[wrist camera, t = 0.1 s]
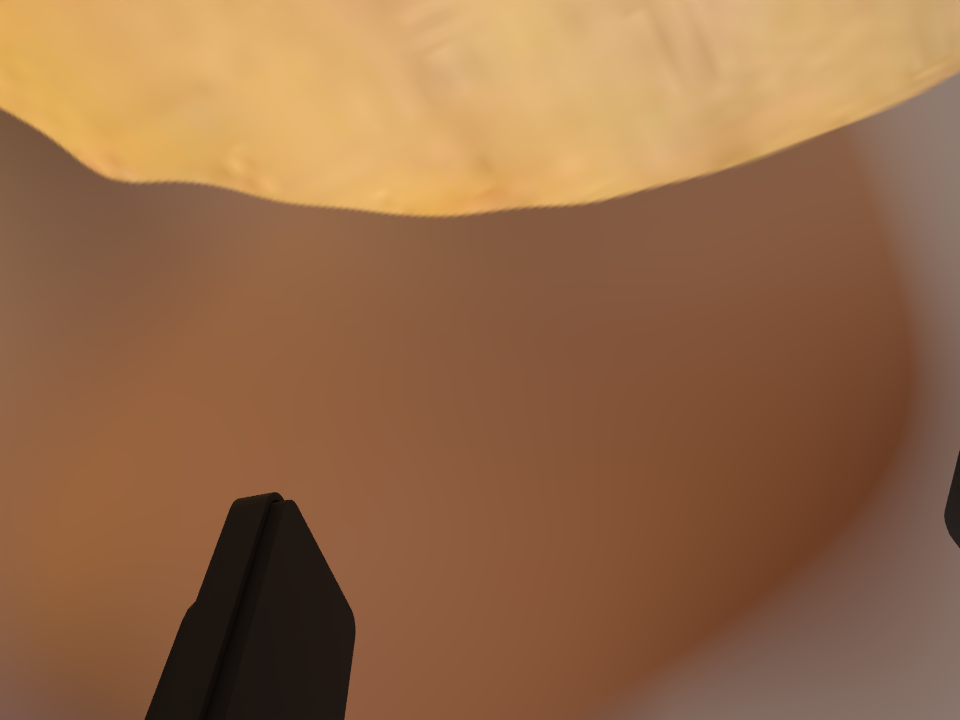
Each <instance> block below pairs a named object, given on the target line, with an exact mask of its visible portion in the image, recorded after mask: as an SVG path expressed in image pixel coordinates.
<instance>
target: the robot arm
mask: <svg viewBox="0 0 960 720" xmlns="http://www.w3.org/2000/svg"><path fill="white" fill-rule="evenodd" d="M944 517H945V523H946V526H947V529H948V531H949V534H950V536H951V537H952V539H953V540H954V541H955V543H956V544H957V545H958V547H959V548H960V451H959V455H958V459H957V463H956V468H955V472H954V475H953V480H952V484H951V488H950V492H949V496H948V500H947V504H946V508H945V514H944ZM354 642H355V620H354V616H353V612H352V610H351V608H350V606H349V604H348V602H347V600H346V599H345V596H344V595H343V593H342V591H341V589H340V587H339V585H338V583H337V581H336V579H335V577H334V575H333V573H332V572H331V570H330V568H329V566H328V564H327V562H326V560H325V558H324V556H323V555H322V552H321V551H320V549H319V547H318V545H317V543H316V541H315V539H314V537H313V535H312V533H311V531H310V529H309V528H308V526H307V524H306V522H305V520H304V518H303V516H302V514H301V512H300V510H299V508H298V506H297V505H296V503H295V502H294V501H293V500H285V501H284V499H283V498H282V496H281V495H280V494H279V493H277V492H273V493H267V494H262V495H256V496H251V497H246V498H240V499H237V500H235V501H234V502H233V504H232V506H231V508H230V510H229V513H228V515H227V518H226V521H225V524H224V527H223V529H222V532H221V534H220V537H219V540H218V542H217V545H216V548H215V551H214V554H213V556H212V559H211V561H210V564H209V567H208V570H207V572H206V575H205V578H204V580H203V584H202V586H201V588H200V591H199V594H198V597H197V599H196V602H194V604H193V605H192V606H191V607H190V608H189V609H188V610H187V612H186V614H185V616H184V618H183V620H182V622H181V625H180V628H179V630H178V633H177V635H176V638H175V641H174V644H173V646H172V649H171V651H170V654H169V657H168V659H167V662H166V665H165V667H164V670H163V672H162V675H161V678H160V681H159V683H158V686H157V688H156V691H155V694H154V696H153V699H152V702H151V704H150V707H149V710H148V712H147V715H146V717H145V720H344V717H345V709H346V702H347V695H348V687H349V680H350V672H351V665H352V656H353V650H354Z"/></svg>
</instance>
